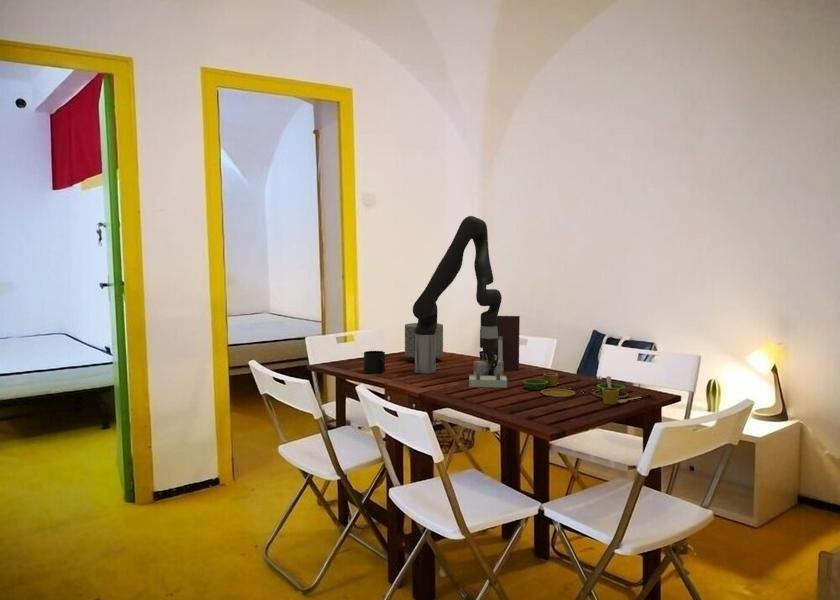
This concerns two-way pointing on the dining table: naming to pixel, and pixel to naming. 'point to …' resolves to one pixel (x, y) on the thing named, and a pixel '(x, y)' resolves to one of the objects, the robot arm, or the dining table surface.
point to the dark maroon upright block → (508, 341)
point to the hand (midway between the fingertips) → (488, 376)
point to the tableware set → (550, 379)
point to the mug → (374, 362)
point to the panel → (485, 370)
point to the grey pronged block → (488, 380)
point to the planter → (411, 340)
